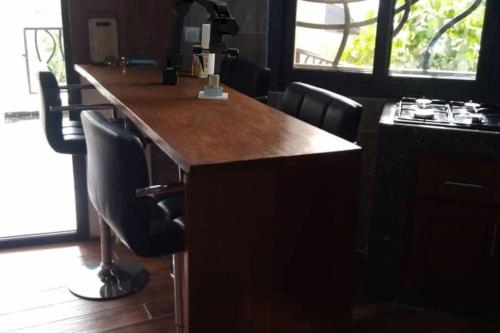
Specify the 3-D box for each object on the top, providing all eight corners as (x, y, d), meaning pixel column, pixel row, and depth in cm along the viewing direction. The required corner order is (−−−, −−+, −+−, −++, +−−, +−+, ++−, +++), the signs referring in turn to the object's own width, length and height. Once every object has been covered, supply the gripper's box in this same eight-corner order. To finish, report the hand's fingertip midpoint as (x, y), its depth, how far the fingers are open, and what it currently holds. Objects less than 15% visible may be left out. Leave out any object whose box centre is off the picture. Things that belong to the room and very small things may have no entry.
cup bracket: (197, 98, 226) (198, 88, 224) (199, 92, 237) (200, 84, 236) (227, 100, 226) (227, 90, 225) (227, 94, 238) (228, 86, 236)
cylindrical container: (211, 74, 290) (214, 25, 283) (198, 73, 292) (200, 24, 284) (215, 73, 297) (217, 25, 290) (202, 71, 298) (204, 24, 291)
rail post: (208, 95, 229) (209, 75, 227) (208, 93, 233) (209, 74, 231) (217, 95, 230) (218, 76, 227) (218, 94, 233) (219, 75, 231)
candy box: (208, 78, 279) (209, 47, 274) (201, 78, 276) (202, 47, 272) (198, 75, 285) (199, 45, 281) (191, 75, 283) (192, 45, 278)
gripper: (192, 33, 216) (190, 73, 220) (239, 37, 217) (237, 77, 221) (194, 31, 226) (192, 70, 231) (239, 35, 227) (237, 73, 232)
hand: (214, 72), depth 229 cm, fingers open, 9 cm apart
